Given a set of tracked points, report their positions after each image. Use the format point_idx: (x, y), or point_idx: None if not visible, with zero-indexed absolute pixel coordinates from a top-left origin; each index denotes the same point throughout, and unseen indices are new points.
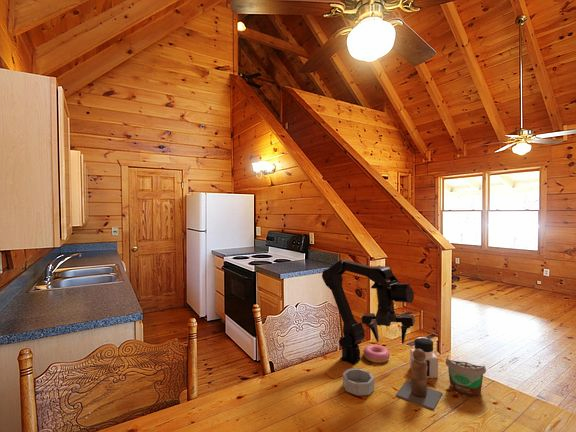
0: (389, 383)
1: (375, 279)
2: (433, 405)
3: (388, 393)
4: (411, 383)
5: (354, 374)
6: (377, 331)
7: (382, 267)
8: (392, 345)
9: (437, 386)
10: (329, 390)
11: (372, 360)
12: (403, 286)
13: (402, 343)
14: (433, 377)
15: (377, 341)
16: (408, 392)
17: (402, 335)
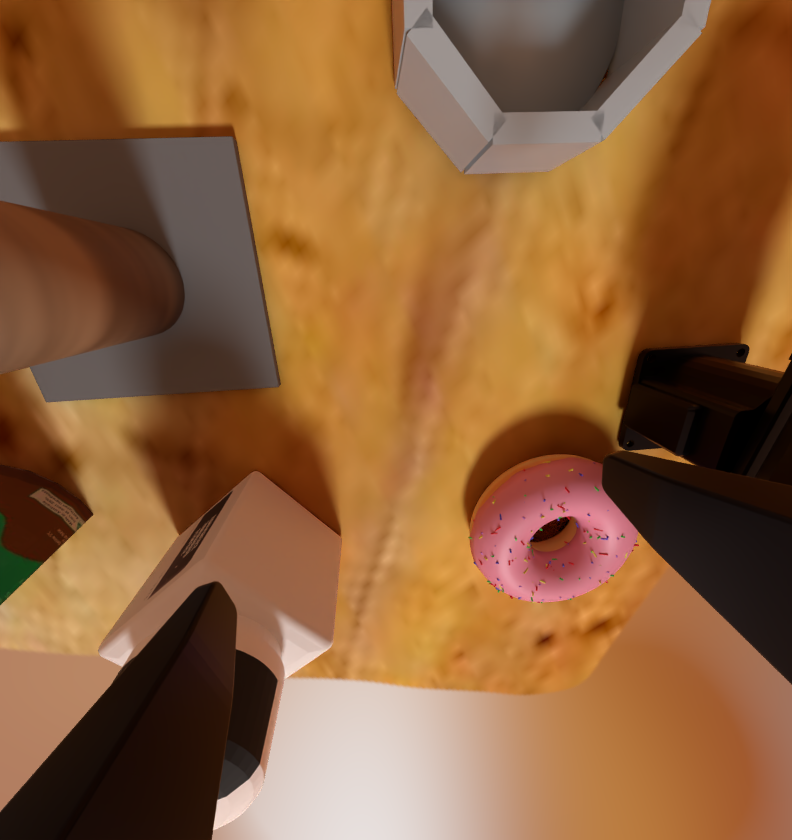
0: (352, 286)
1: None
2: None
3: (292, 138)
4: (123, 248)
5: (607, 88)
6: (766, 635)
7: None
8: (506, 660)
9: (127, 458)
10: None
11: (546, 456)
12: None
13: (206, 585)
14: (193, 524)
15: (617, 454)
16: (185, 243)
17: (59, 798)
